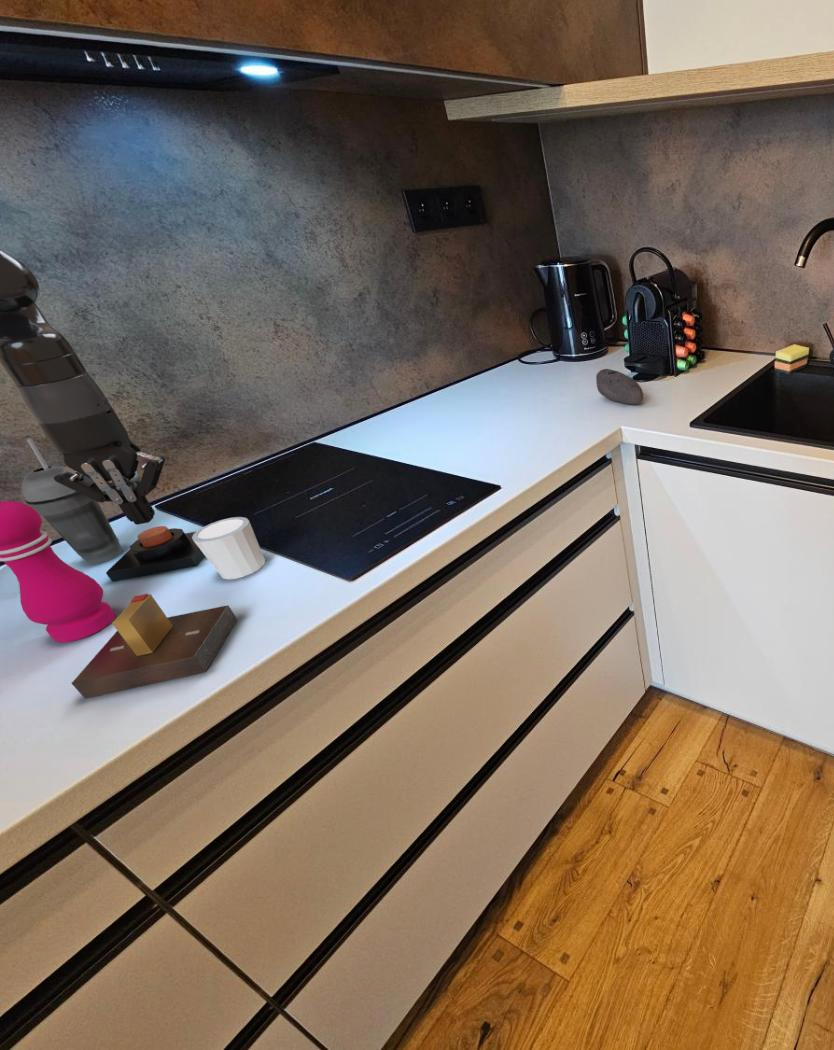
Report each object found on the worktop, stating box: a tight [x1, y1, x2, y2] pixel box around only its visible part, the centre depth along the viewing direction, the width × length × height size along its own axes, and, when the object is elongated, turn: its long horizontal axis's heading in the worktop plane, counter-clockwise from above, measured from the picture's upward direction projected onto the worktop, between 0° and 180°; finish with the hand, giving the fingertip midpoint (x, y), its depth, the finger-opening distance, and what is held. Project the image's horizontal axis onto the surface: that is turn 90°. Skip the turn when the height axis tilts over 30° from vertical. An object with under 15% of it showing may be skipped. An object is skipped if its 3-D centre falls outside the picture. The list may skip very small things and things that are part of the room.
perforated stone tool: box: [595, 368, 644, 406], centre depth 139 cm, size 15×5×7 cm, turn 44°
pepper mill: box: [0, 500, 116, 643], centre depth 72 cm, size 7×7×20 cm
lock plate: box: [71, 604, 238, 699], centre depth 70 cm, size 12×10×3 cm
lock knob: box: [111, 593, 173, 656], centre depth 68 cm, size 5×2×5 cm, turn 16°
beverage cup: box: [21, 438, 124, 565], centre depth 88 cm, size 7×7×20 cm
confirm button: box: [137, 525, 173, 547], centre depth 89 cm, size 4×4×2 cm
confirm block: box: [105, 527, 206, 583], centre depth 90 cm, size 11×9×4 cm
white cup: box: [192, 516, 266, 580], centre depth 85 cm, size 7×7×7 cm
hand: (145, 521), depth 87 cm, fingers closed
